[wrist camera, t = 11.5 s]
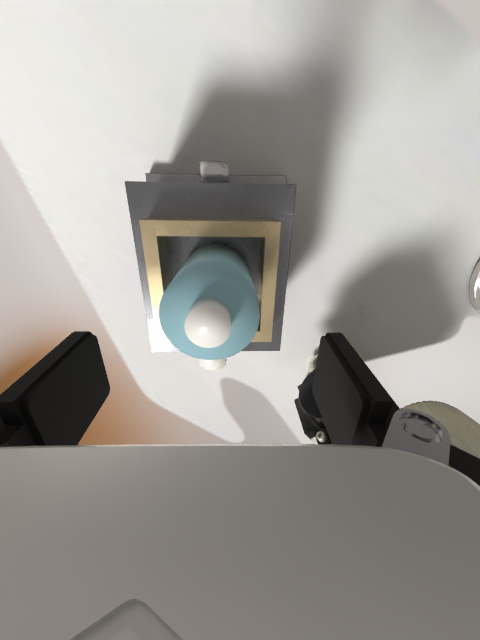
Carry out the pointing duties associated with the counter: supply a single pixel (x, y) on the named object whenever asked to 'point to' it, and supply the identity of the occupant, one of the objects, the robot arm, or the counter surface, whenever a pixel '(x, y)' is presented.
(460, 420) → the canister
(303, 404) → the cream boxy piece
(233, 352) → the drain pump
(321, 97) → the counter surface
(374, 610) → the robot arm
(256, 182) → the grey box
